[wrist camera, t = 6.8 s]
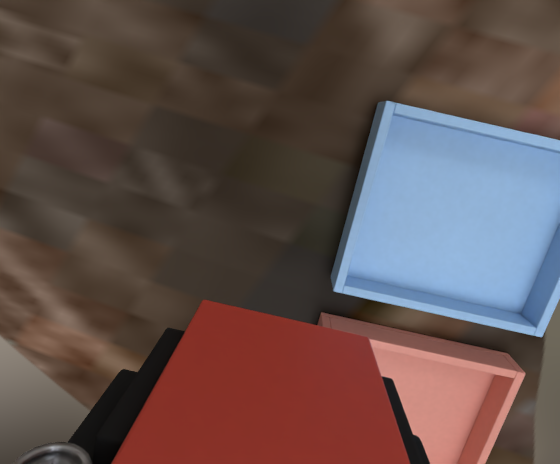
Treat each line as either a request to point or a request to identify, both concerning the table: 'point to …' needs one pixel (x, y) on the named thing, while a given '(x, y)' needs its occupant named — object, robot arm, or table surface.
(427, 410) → the rose tray
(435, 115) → the blue tray
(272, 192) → the table surface
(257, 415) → the red block
